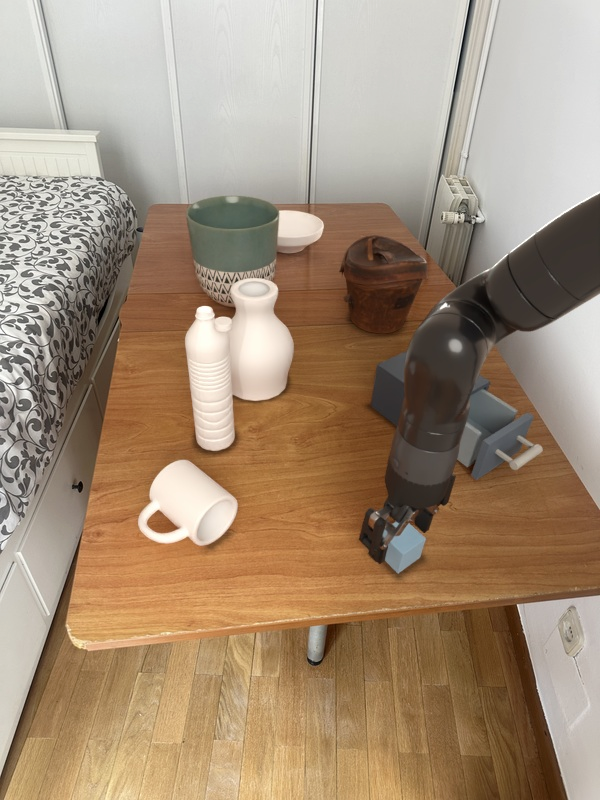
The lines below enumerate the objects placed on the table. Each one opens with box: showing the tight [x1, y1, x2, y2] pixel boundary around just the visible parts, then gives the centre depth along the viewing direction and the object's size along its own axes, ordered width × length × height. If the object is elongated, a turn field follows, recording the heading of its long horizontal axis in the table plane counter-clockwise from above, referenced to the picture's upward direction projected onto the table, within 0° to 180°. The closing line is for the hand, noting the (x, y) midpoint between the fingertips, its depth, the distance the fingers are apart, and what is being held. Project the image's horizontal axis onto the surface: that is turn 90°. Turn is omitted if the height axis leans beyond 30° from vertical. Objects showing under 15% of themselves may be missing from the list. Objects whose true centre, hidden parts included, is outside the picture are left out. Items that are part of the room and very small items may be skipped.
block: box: [382, 521, 427, 574], centre depth 73 cm, size 4×4×4 cm
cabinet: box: [370, 350, 492, 427], centre depth 95 cm, size 15×13×10 cm
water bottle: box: [184, 305, 236, 452], centre depth 83 cm, size 9×6×25 cm
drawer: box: [457, 389, 543, 481], centre depth 88 cm, size 18×11×8 cm, turn 37°
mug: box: [137, 459, 239, 547], centre depth 74 cm, size 12×10×8 cm
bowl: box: [277, 209, 325, 254], centre depth 151 cm, size 20×20×7 cm
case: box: [338, 234, 429, 334], centre depth 118 cm, size 18×20×18 cm
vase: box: [225, 278, 295, 402], centre depth 98 cm, size 14×14×20 cm
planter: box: [185, 195, 280, 308], centre depth 121 cm, size 20×20×21 cm
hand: (399, 542), depth 73 cm, fingers open, 8 cm apart
